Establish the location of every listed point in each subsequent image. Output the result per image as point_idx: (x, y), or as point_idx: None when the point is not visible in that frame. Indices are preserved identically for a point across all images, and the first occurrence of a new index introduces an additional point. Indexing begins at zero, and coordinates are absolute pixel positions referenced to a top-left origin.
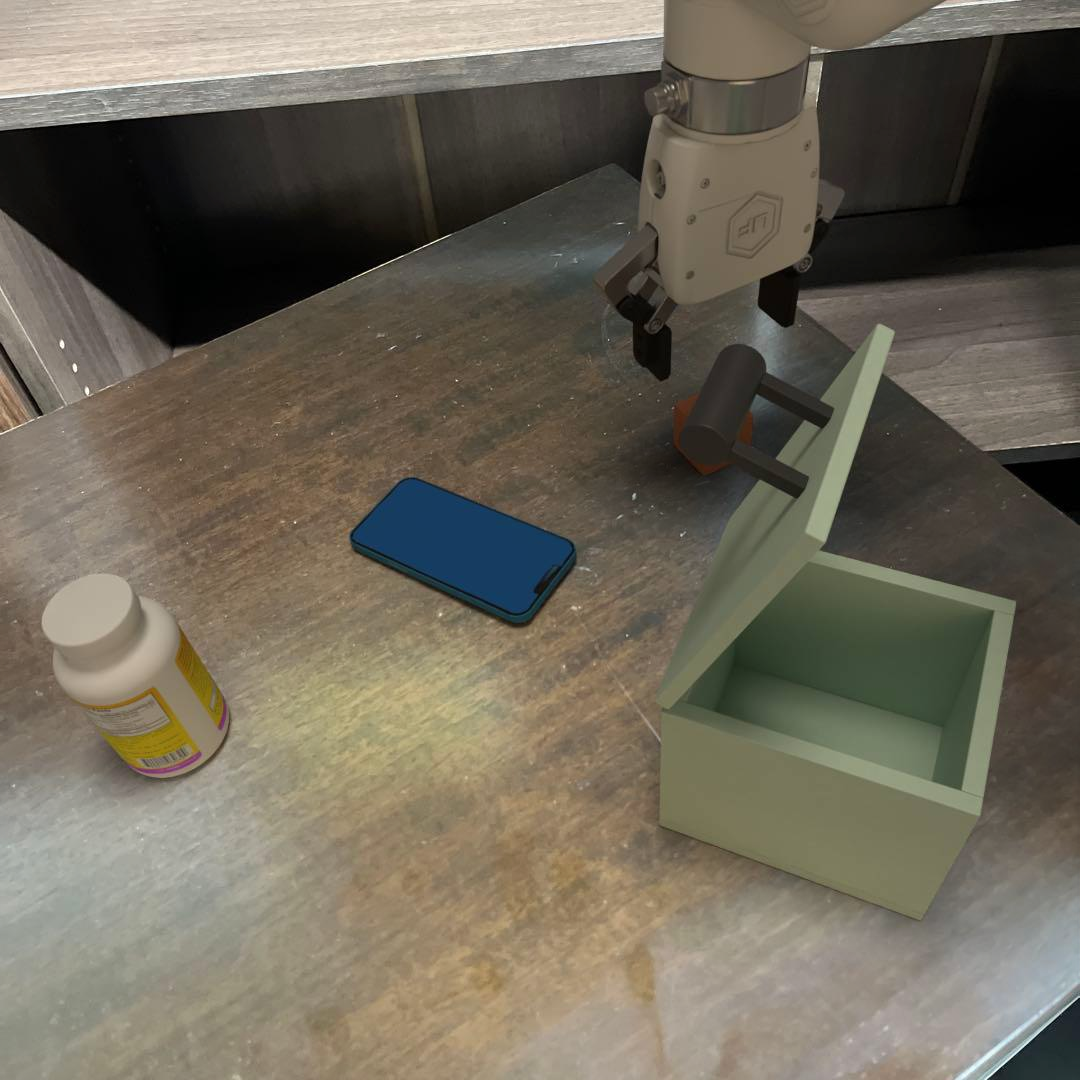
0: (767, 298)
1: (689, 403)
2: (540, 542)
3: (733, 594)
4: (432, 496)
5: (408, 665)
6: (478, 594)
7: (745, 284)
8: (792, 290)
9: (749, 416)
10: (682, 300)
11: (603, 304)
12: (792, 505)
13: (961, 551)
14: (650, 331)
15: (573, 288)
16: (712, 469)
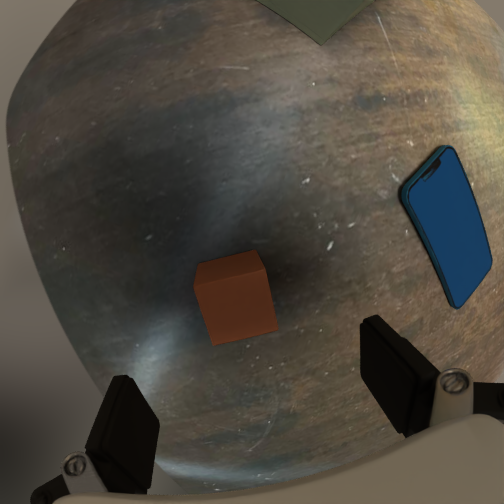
0: (146, 429)
1: (262, 326)
2: (425, 210)
3: None
4: (455, 287)
5: (487, 155)
6: (464, 180)
7: (268, 492)
8: (104, 429)
9: (199, 285)
10: (491, 418)
11: (257, 448)
12: None
13: (71, 90)
14: (455, 372)
15: (271, 460)
16: (245, 253)
